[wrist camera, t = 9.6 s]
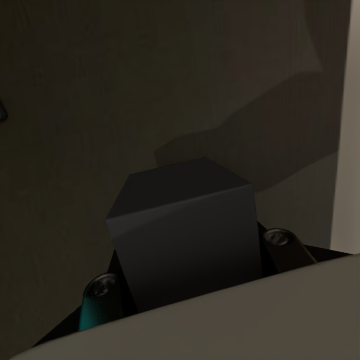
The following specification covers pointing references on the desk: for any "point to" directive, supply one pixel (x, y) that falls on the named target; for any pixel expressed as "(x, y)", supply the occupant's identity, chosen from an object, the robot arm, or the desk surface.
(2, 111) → the smartphone
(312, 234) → the desk surface
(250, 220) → the block
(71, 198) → the desk surface
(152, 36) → the desk surface
